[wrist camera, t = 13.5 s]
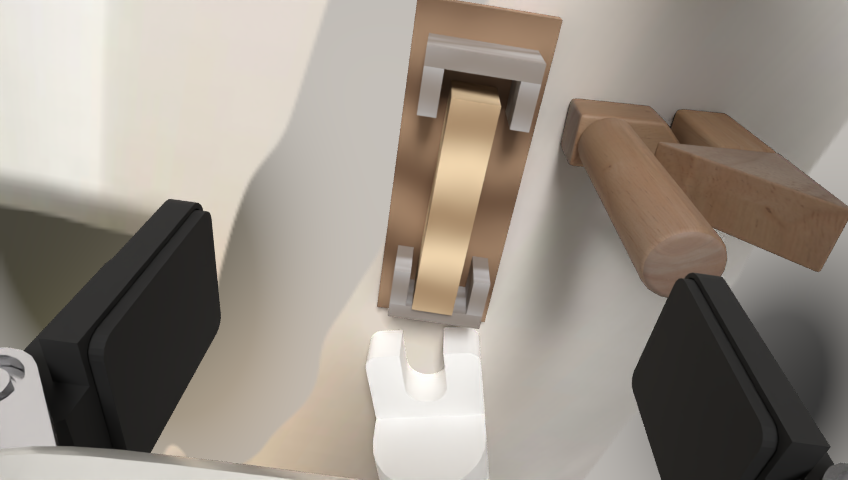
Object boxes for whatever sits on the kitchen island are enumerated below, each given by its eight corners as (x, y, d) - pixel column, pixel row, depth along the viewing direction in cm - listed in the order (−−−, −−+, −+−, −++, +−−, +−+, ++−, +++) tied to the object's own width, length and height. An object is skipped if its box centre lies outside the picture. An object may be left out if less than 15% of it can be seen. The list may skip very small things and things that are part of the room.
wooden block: (709, 161, 40) (870, 323, 25) (559, 146, 40) (626, 299, 25) (728, 111, 38) (916, 252, 23) (570, 95, 38) (651, 225, 23)
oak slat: (451, 79, 37) (451, 97, 33) (496, 87, 37) (501, 106, 34) (414, 278, 45) (411, 309, 42) (451, 284, 45) (451, 315, 42)
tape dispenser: (395, 464, 59) (384, 568, 49) (369, 329, 50) (349, 427, 40) (488, 461, 58) (495, 567, 49) (478, 323, 49) (484, 421, 39)
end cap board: (418, -7, 35) (414, 5, 31) (559, 17, 36) (573, 31, 32) (378, 299, 48) (371, 334, 44) (483, 314, 48) (486, 350, 44)
